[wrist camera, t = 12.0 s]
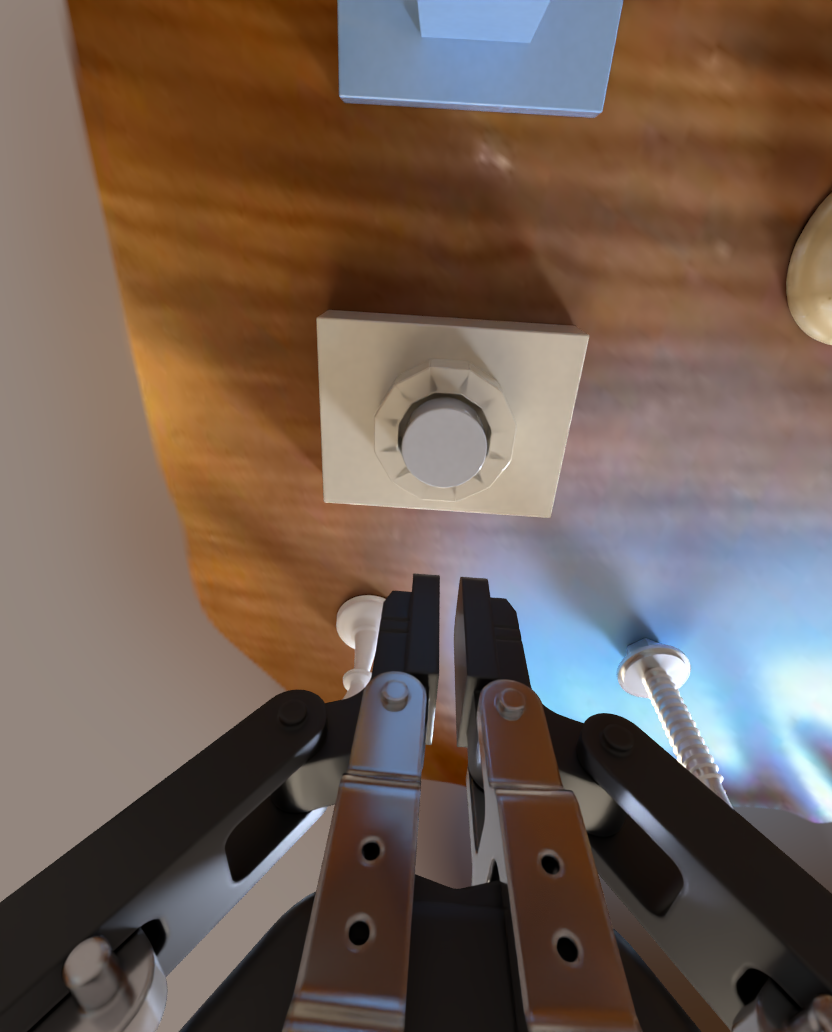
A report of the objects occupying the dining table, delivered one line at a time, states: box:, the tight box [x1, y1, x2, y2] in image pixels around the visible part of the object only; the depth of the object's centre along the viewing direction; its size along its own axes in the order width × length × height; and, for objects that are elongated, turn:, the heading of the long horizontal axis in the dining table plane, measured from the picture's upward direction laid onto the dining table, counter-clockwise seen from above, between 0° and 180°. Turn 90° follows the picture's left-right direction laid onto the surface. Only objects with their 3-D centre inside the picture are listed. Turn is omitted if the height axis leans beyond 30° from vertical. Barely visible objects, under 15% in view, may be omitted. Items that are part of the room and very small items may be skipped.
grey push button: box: [402, 397, 487, 488], centre depth 24 cm, size 4×4×2 cm
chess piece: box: [336, 595, 386, 700], centre depth 32 cm, size 5×5×10 cm
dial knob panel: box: [316, 310, 589, 518], centre depth 27 cm, size 13×10×4 cm
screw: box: [617, 638, 733, 808], centre depth 31 cm, size 13×5×5 cm
